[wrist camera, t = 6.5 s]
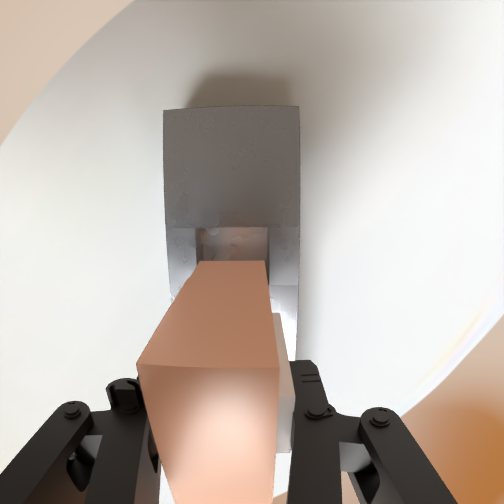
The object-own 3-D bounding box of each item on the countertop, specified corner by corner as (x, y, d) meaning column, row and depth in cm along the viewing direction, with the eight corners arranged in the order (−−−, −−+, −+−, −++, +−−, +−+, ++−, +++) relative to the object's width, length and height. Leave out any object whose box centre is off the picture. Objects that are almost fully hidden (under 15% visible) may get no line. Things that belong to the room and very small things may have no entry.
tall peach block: (210, 396, 17) (186, 532, 8) (199, 258, 15) (135, 363, 6) (263, 396, 17) (269, 535, 8) (264, 258, 15) (279, 367, 6)
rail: (196, 407, 27) (190, 436, 23) (177, 121, 21) (163, 110, 17) (285, 407, 27) (289, 437, 23) (290, 118, 21) (298, 106, 17)
